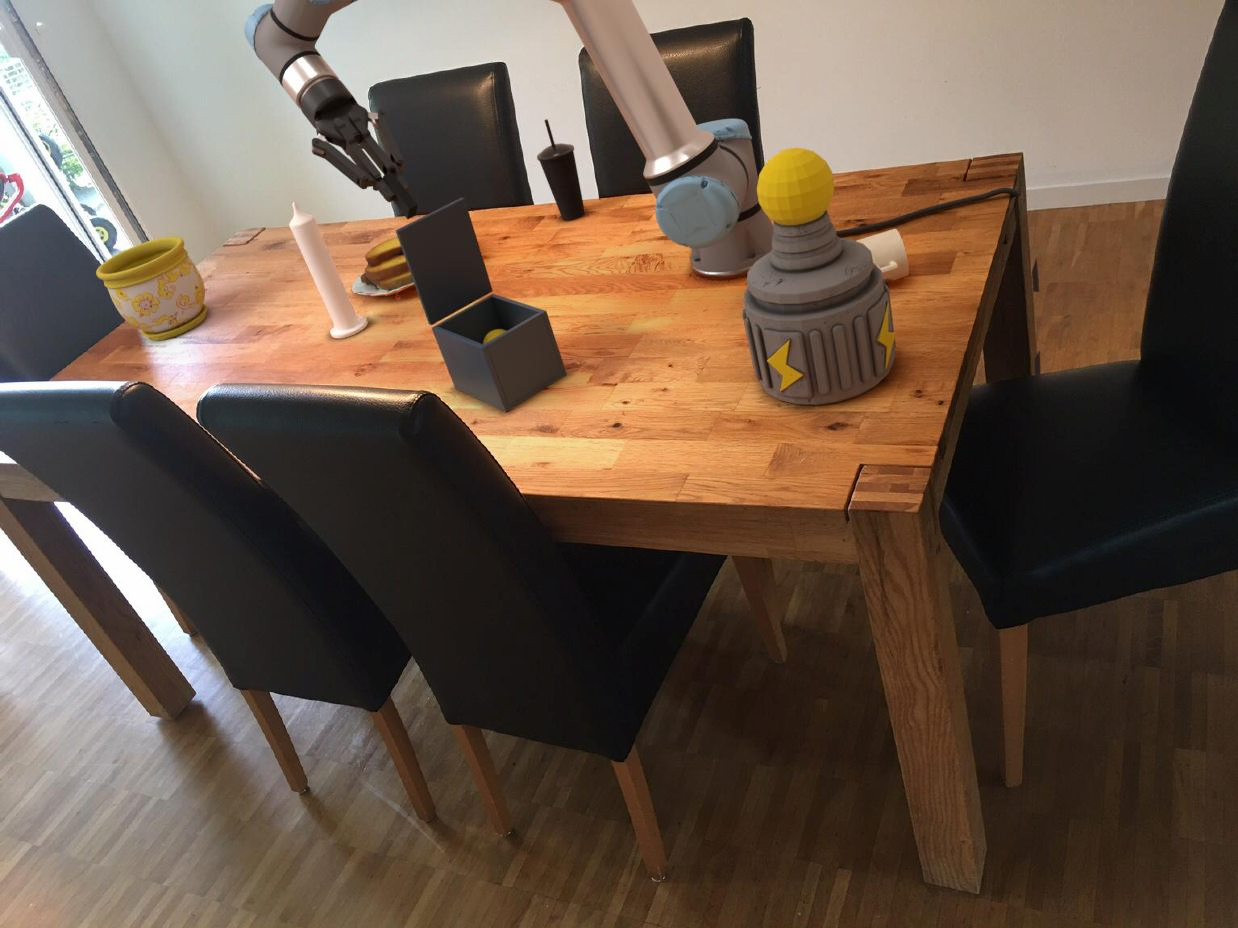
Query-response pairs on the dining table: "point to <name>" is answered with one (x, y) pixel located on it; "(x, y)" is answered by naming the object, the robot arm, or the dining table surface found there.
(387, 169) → the robot arm
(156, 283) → the flowerpot
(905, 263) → the character mug
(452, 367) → the box
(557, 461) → the dining table surface
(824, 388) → the decorative lamp
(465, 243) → the lid
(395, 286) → the food on plate
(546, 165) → the drinking cup
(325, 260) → the candle
